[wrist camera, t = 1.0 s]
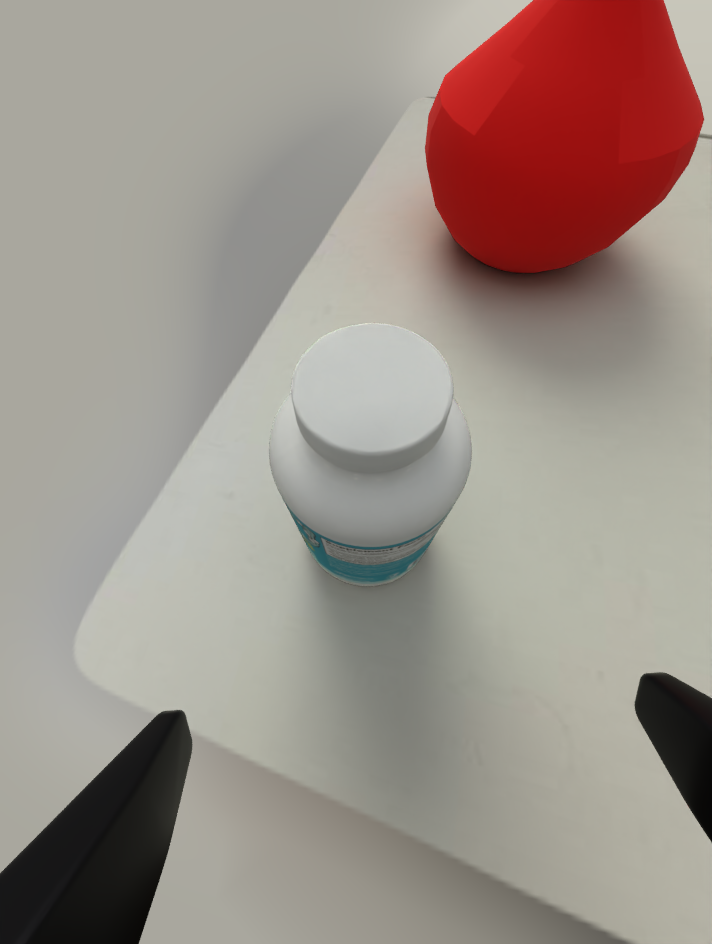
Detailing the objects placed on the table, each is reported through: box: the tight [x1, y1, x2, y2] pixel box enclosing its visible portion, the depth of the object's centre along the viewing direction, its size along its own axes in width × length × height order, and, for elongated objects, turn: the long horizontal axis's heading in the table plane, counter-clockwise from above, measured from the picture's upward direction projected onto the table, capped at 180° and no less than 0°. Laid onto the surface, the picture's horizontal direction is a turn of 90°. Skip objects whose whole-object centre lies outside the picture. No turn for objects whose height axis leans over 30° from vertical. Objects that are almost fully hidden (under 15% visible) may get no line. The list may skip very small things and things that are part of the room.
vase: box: [425, 0, 704, 273], centre depth 26 cm, size 18×18×19 cm
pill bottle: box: [269, 323, 472, 586], centre depth 17 cm, size 8×7×14 cm
